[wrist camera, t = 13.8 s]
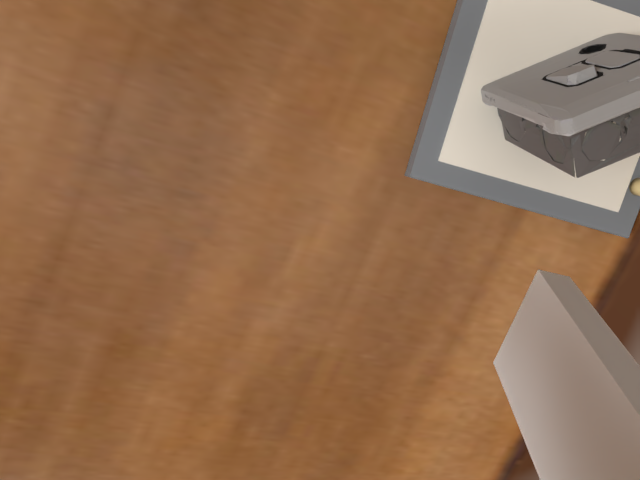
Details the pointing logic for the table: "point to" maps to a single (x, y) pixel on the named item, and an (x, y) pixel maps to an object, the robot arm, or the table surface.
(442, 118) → the plate
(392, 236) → the table surface
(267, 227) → the table surface
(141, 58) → the table surface
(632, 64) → the electrical switch
